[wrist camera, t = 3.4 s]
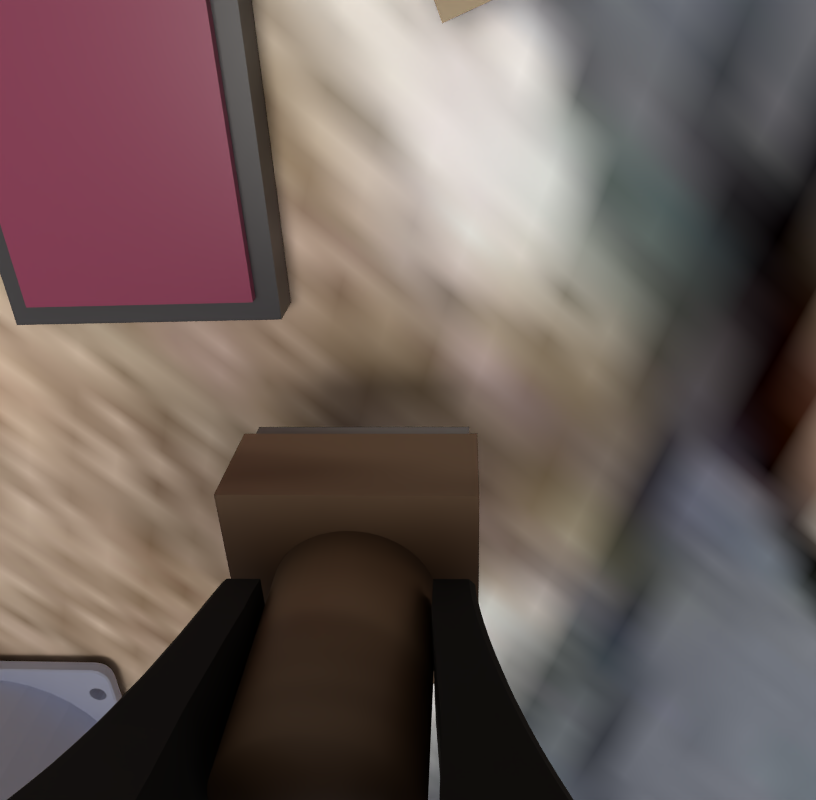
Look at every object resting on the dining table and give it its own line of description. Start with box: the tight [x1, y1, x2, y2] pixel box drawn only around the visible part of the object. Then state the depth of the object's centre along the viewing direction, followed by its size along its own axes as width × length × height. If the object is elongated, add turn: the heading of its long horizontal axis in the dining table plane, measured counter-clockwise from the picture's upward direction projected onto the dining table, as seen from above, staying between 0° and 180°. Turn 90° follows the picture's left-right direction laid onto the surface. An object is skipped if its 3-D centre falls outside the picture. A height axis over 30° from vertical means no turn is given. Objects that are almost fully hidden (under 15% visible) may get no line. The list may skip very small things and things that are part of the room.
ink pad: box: [0, 0, 291, 325], centre depth 14 cm, size 9×6×1 cm, turn 3°
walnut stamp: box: [207, 427, 479, 800], centre depth 13 cm, size 4×4×6 cm
